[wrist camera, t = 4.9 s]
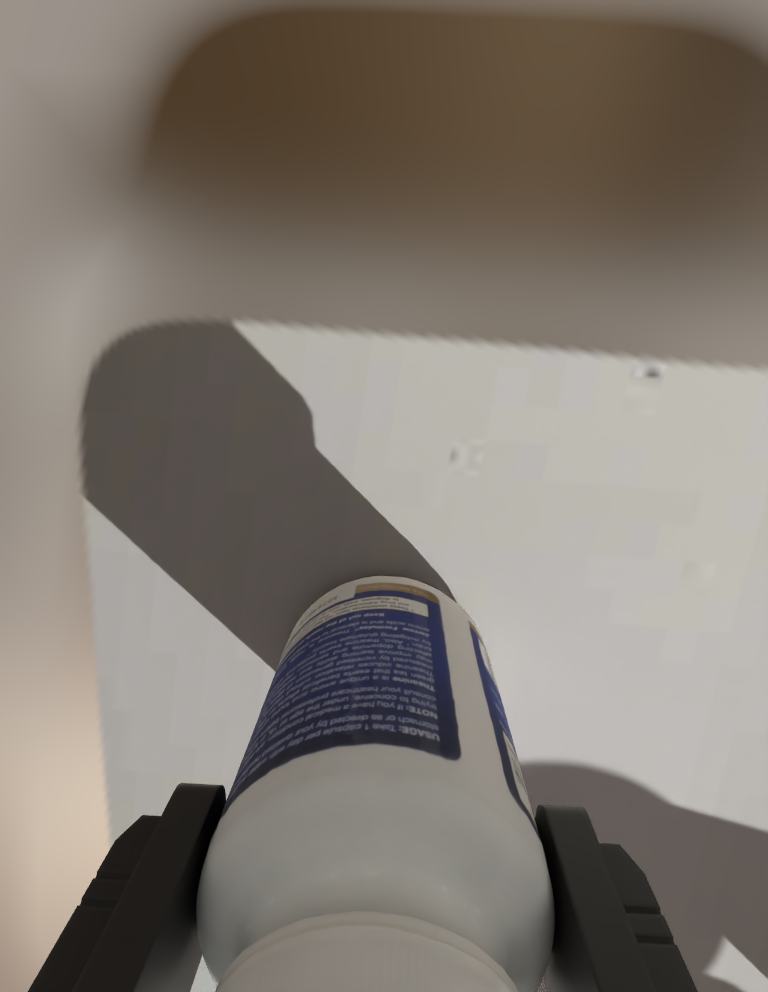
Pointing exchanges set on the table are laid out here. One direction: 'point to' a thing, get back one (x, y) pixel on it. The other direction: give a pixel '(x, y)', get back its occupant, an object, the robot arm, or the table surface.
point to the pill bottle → (378, 814)
